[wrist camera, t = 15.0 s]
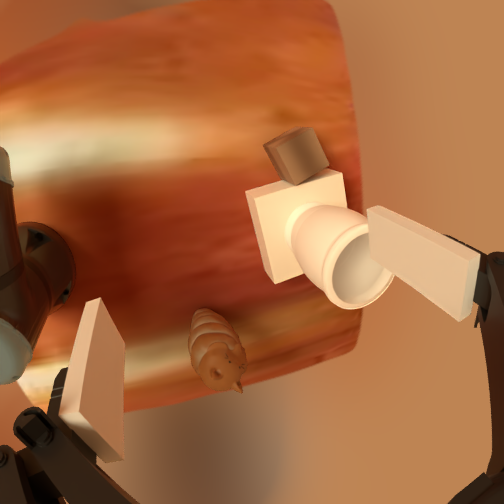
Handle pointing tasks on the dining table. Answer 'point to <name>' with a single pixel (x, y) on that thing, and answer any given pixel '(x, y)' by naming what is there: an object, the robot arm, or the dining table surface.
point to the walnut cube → (296, 154)
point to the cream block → (278, 211)
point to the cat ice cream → (216, 351)
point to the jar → (336, 253)
